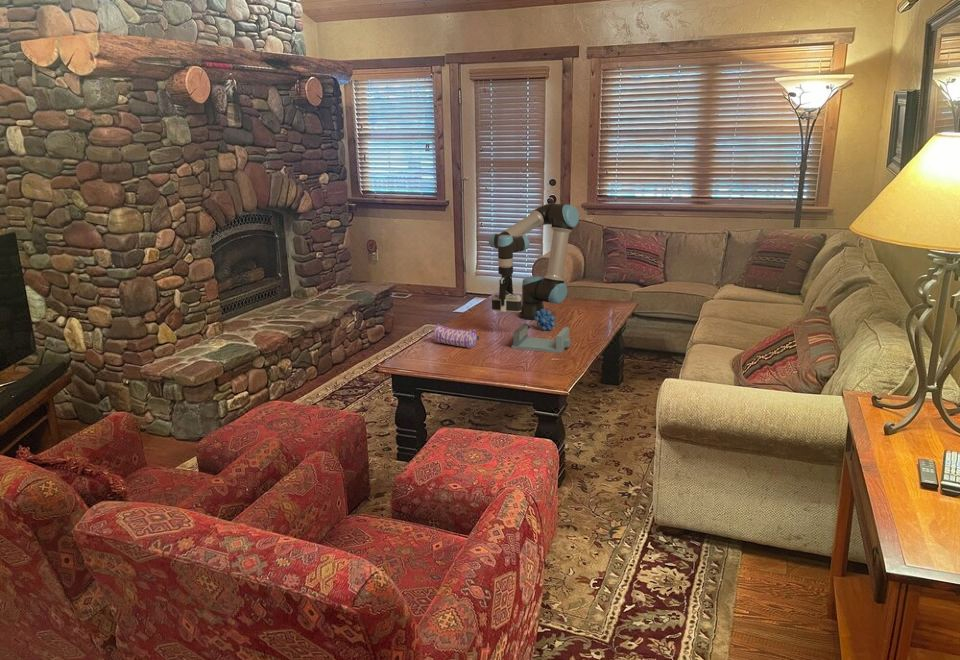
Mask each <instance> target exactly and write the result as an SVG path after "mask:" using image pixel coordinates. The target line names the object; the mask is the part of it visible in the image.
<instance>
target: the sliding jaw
mask: <svg viewBox="0 0 960 660" xmlns="http://www.w3.org/2000/svg"><path fill="white" fill-rule="evenodd" d="M530 327H531V326H529V323H522V324H520V326H518V327H517V328H516V329H515V330H514V331H513V344H514V345H516V346H519V345H520V344H521V343H522V342H523V341H524V340H525V339H526V338H527V337H529V335H528V333H529V330H530Z"/></svg>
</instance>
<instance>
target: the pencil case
mask: <svg viewBox="0 0 960 660" xmlns="http://www.w3.org/2000/svg"><path fill="white" fill-rule="evenodd" d="M433 339H434V341H435V342H436V343H439V344H444V345H445V344H446V345H450V346H457V347H462V348H466V349H467V348H468V349H472V348H473V347H475V346H476V344H477V341H479V340H480V336H478V334H477V333H476V329H458V328H451V327H447V326H444V325H442V324H440V323H437V324H436V325H435V328H434V332H433Z"/></svg>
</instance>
